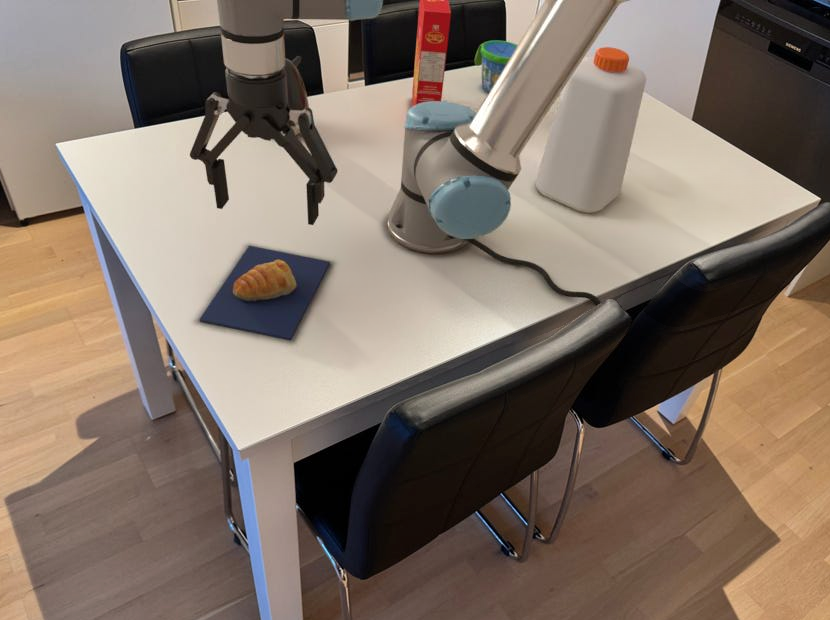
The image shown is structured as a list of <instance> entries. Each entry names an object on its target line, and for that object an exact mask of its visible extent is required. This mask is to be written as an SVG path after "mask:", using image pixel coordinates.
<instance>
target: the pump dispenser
mask: <svg viewBox="0 0 830 620" xmlns="http://www.w3.org/2000/svg"><path fill="white" fill-rule="evenodd" d="M302 60H303V59H302V57H301V56H300V55H297V56H296V57H295V58H294V59H293V60H290V59H288V58H286V57H285V66H284V68H285V70H286V76H287V93H288V105H289V107H290V109H291V110H299V111H303V110H304V108H306V107H308V108H310V106H309V105H310V104H309V99H308V94H307V90H306V87H305V84H304V81H303V78H302V76H301V73H300V71H299V68H297V67H298V65H299V64H300V63H301V62H302ZM288 124H289V125H290V126H291V128H292V129H293V130H294V133H295V136H297V135H299V134H301V133H300V129H297V128H296V125H295V123H294V122H293V121H291V120H290V121H289V122H288ZM281 134H282V135H283V132H282V131H281Z"/></svg>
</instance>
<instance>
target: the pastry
mask: <svg viewBox="0 0 830 620" xmlns="http://www.w3.org/2000/svg"><path fill="white" fill-rule="evenodd" d="M295 288H296V281H295V278H294V276H293V275H292V272H291V269H290V268H289V266H288V265H287V264H286V262H284V261H282V260H279V259H278V260H275V261H274V262H270V263H264V264H262V265H257V266H255V267H254V268H253V269H251V270H250V271H248V272H247V273H246V274H244V275H242V276H241V277H240V278H238V280H237V281H235V282H234V286H233V293H234V295H235V296H237V297H238V298H240V299H243V300H246V301H256V300H268V299H270V298H271V299H272V298H276V297H280V296H281V295H287V294H289V293H291V292H292V291H293V290H294V289H295Z"/></svg>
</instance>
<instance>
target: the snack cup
mask: <svg viewBox="0 0 830 620" xmlns="http://www.w3.org/2000/svg"><path fill="white" fill-rule="evenodd" d="M517 46H518V44H517V43H514V42H511V41H506V40H497V39H494V40H493V39H492V40H488V41H484V42H483V43H481V44H480V45H479V46H478V47H477V50H476V53H475V57H474V65H475V66H477V67H479V66H481V88H482V91H483V90H484V91H485V92H486V93H489V92H490V90H491V89H492V87H493V85H494V84H495V82H496V80H497V79H498V77H499V75H500V74H501V72H502V70H503V69H504V67H505V66H506V64H507V62H508V61H509V59H510V57H511V56H512V54H513V52H514V51H515V49H516V47H517Z"/></svg>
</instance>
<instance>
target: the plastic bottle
mask: <svg viewBox="0 0 830 620" xmlns="http://www.w3.org/2000/svg"><path fill="white" fill-rule="evenodd" d="M629 61H630V56H629V53H627V52H626V51H624V50H622V49H620V48H616V47H610V46H604V47H600V48H598V49H597V50H596V51H595V53H594V55H591V56H588V57H586V58H583V60H582V61H581V63H580V64H579V66H578V67H577V69H576V70H575V72H574V73H573V75H572V76H571V78H570V79H569V81H568V82H567V84H566V85H565V87H564V88H563V90H562V91H561V93H560V97H559V101H558V104H557V107H556V111H555V114H554V117H553V120H552V124H551V128H550V131H549V134H548V138H547V141H546V144H545V147H544V150H543V155H542V157H541V161H540V165H539V167H538V171H537V175H536V177H535V178H536V179H535V187H536V189H537V191H538V192H539V193H540V194H541V195H543V196H545V197H546V198H549V199H551V200H554V201H556V202H558V203H559V204H562V205H564V206H566V207H568V208H570V209H573V210H576V211H578V212H581V213H588V214H591V213H596V212H599V211H602V210H603V208H606V206H608V205H609V204H610V203H611V202H612V201H613V200H615V198H617V197H618V196H619V195H620V194H621V191H622V188H623V183H624V179H625V174H626V169H627V166H628V161H629V157H630V152H631V149H632V143H633V140H634V135H635V130H636V126H637V122H638V117H639V113H640V107H641V105H642V100H643V95H644V91H645V87H646V82H647V76H646V73H645V72H644V71H643V70H641V69H639V68H638V67H636V66H633V65H630V64H629Z"/></svg>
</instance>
